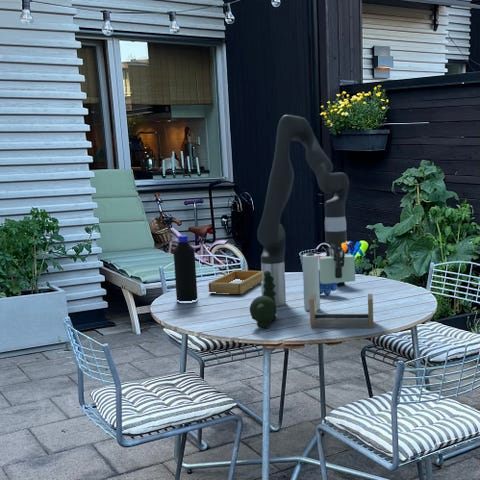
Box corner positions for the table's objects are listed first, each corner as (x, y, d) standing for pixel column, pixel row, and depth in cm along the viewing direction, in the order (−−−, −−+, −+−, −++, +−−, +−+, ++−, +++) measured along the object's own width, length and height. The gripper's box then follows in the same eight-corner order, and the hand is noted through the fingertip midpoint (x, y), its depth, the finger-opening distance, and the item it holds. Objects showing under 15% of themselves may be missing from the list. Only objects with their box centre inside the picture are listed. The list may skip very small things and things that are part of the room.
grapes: (341, 292, 264) (340, 265, 262) (340, 296, 257) (339, 268, 256) (313, 292, 266) (312, 265, 265) (312, 296, 260) (311, 268, 258)
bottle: (194, 304, 258) (190, 237, 254) (174, 304, 260) (169, 237, 256) (200, 298, 266) (196, 234, 262) (180, 299, 268) (176, 234, 264)
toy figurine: (258, 319, 235) (246, 332, 211) (256, 269, 234) (244, 276, 210) (283, 319, 234) (274, 332, 209) (281, 269, 233) (272, 276, 208)
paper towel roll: (318, 311, 235) (316, 255, 232) (302, 311, 237) (300, 255, 234) (322, 306, 242) (320, 252, 239) (307, 306, 244) (305, 252, 241)
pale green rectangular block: (322, 283, 220) (321, 258, 219) (320, 281, 224) (319, 257, 223) (355, 281, 222) (354, 256, 220) (352, 279, 225) (351, 254, 224)
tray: (235, 281, 302) (234, 269, 302) (264, 281, 297) (263, 270, 296) (208, 295, 274) (208, 282, 273) (240, 296, 269) (240, 283, 268)
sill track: (310, 327, 214) (309, 299, 213) (312, 321, 222) (311, 294, 220) (373, 328, 210) (372, 299, 208) (373, 321, 217) (372, 293, 216)
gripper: (351, 230, 214) (353, 279, 216) (340, 226, 228) (342, 272, 230) (330, 232, 213) (332, 281, 215) (320, 227, 227) (322, 274, 229)
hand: (337, 276), depth 223 cm, fingers closed on pale green rectangular block, 3 cm apart
